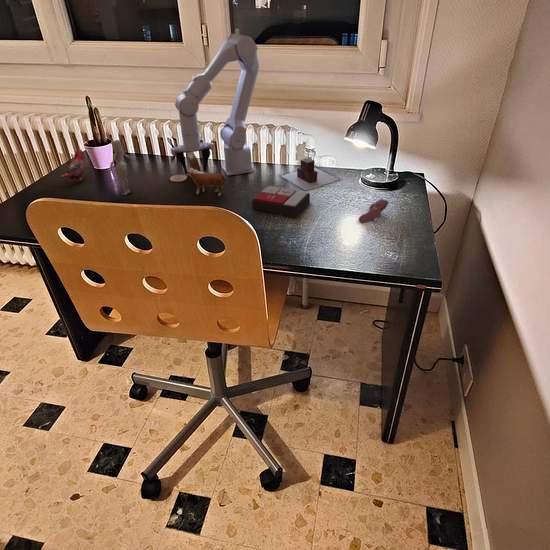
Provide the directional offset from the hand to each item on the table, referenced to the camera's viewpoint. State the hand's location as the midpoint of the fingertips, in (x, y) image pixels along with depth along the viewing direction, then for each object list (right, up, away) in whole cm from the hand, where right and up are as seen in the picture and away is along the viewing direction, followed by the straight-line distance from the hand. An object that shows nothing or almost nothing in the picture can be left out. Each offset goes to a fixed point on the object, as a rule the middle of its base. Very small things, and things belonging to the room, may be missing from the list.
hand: (195, 171), depth 149 cm
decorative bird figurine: (-41, -4, 0) cm, 42 cm away
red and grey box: (+30, -15, -16) cm, 38 cm away
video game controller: (+57, -20, -23) cm, 65 cm away
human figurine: (-21, -10, -8) cm, 24 cm away
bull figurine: (+5, -9, -8) cm, 13 cm away
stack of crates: (+40, -2, +1) cm, 41 cm away
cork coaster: (-6, -2, +2) cm, 7 cm away
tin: (0, -2, +2) cm, 3 cm away
